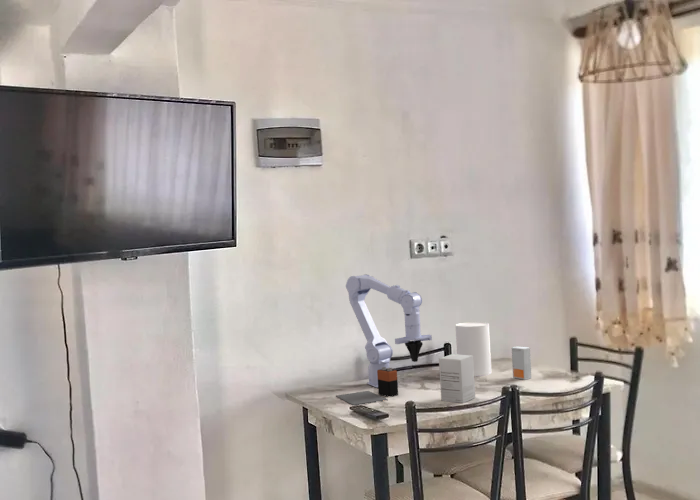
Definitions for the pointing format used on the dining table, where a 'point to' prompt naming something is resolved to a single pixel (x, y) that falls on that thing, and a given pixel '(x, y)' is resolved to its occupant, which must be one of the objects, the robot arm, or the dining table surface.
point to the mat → (361, 397)
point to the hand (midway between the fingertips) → (414, 361)
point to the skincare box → (521, 362)
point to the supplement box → (457, 378)
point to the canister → (475, 345)
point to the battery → (387, 382)
